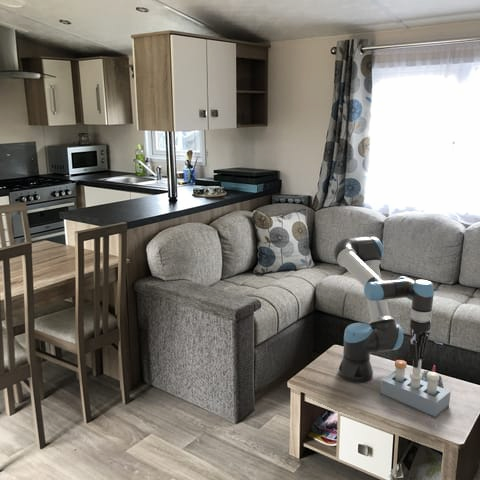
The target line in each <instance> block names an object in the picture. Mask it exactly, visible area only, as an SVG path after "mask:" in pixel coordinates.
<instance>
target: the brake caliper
mask: <svg viewBox="0 0 480 480" xmlns="http://www.w3.org/2000/svg"><path fill="white" fill-rule="evenodd" d="M428 372H429V370H423V372H422V373H421V374H422V379H421V380H423V381H426V382H428V379H427V373H428ZM430 372H435V373H436V365H435V364H433V366H432V368H431V371H430ZM437 386H438V387H441V388H444V382H443V379H442V376H441V375H440V374H439V380H438V381H437ZM444 389H445V388H444Z"/></svg>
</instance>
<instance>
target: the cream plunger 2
mask: <svg viewBox="0 0 480 480" xmlns="http://www.w3.org/2000/svg"><path fill="white" fill-rule="evenodd" d="M439 375H440V374H439V373H437V372H436V371H435V372H431V371H428V373H427V379H428V383H427V394H429V395H432V396H434V397H435V396H436V392H437V381H438V380H439Z"/></svg>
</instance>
